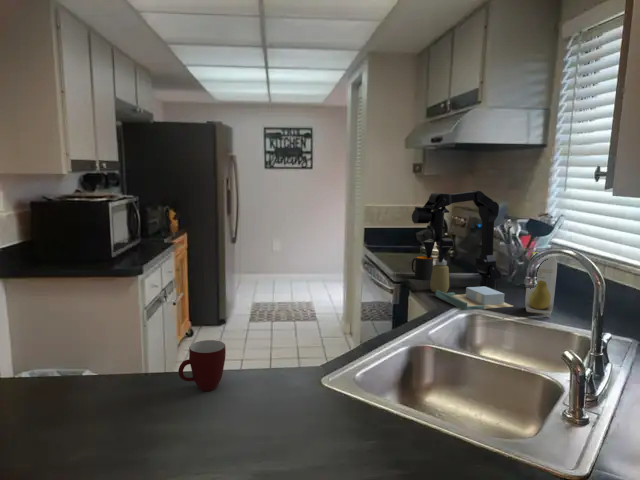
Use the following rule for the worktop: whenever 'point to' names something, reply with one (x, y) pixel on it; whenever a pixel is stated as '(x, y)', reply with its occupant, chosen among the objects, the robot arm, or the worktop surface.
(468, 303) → the display board
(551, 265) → the juice carton
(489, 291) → the carton
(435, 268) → the squeeze bottle
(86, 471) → the worktop surface
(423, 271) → the mug
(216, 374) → the mug
